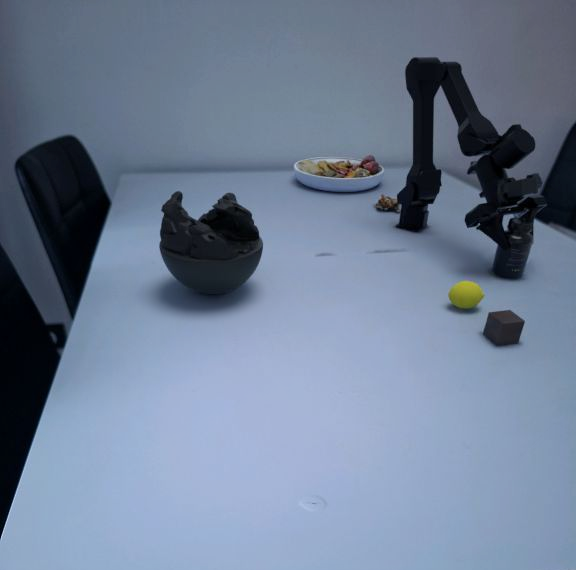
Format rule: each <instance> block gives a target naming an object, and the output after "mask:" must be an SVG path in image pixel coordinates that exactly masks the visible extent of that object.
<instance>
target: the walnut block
mask: <svg viewBox="0 0 576 570" xmlns="http://www.w3.org/2000/svg"><path fill="white" fill-rule="evenodd" d="M525 323H526V321H525V320H524V319H523V318H522V317H520V316H519V315H518V314H517V313H515V312H514V311H512V310H511V309H507V310H505V309H504V310H497V311H490V312H488V314H487V317H486V321H485V325H484V328H483V331H482V332H483V333H482V335H483V336H485V338H487V339H488V340H489V341H490V342H491V343H493V344H494V345H495V346H496V347H501V346H507V345H514V344H518V343H519V342H520V339H521V336H522V333H523V330H524V326H525Z"/></svg>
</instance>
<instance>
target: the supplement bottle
mask: <svg viewBox="0 0 576 570" xmlns="http://www.w3.org/2000/svg"><path fill="white" fill-rule="evenodd" d="M532 226H533V221H531V220H529V219H526V218H521V217H514V216H513V217H510V218H509V220H508V223H507V226H506V229H504V231H505V234H506V237H507V240H508V244H509V249H508V250H506V251H505V250H503V249H502V248H501V247H500V246H499V245H498V244H497V246H496V250H495V253H494V257H493V258H494V259H493V261H492V265H491V271H492V272H491V273H492V274H493V275H495V276H496V277H499V278H502V279H506V280H516V279H520V278H522V277H523V275H524V273H525V269H526V267H527V263H528V259H529V257H530V253H531V249H532V246H533V244H534V235H533V236H532V235H531V234H530V233H529V232H531V230H532ZM532 243H533V244H532Z"/></svg>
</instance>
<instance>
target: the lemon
mask: <svg viewBox="0 0 576 570" xmlns="http://www.w3.org/2000/svg"><path fill="white" fill-rule="evenodd" d="M447 296H448V299H449V301H450V303H451V304H452V305H453V306H454V307H457V308H459V309H461V310H468V309H469V310H470V309H472V308H475V307H477V306H478V305H479V304H480V302H481V301H482V300H483V298H484V297H485V293H484V292H483V290H482V288H481V286H480V285H479V284H478V283H476V282H475V281H470V280H462V281H459V282H457V283H456V284H454V285H453V286H452V287H451V288H450V290H449V291H448V293H447Z"/></svg>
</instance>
